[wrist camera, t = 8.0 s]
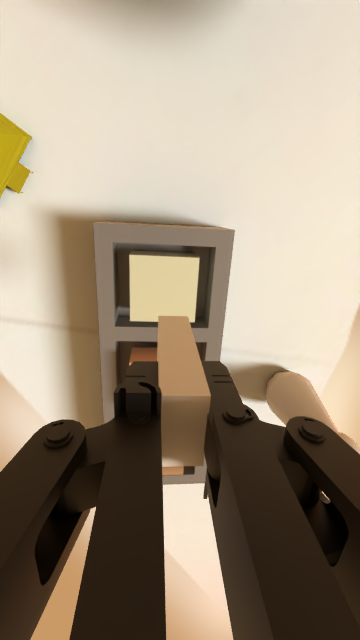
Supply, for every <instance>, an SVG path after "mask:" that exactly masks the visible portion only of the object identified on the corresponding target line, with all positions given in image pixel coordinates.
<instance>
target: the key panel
mask: <svg viewBox="0 0 360 640" xmlns="http://www.w3.org/2000/svg"><path fill="white" fill-rule="evenodd" d="M93 230H94V249H95V268H96V287H97V306H98V324H99V343H100V362H101V381H102V400H103V419H104V424H105V423H107V422H109V421H111V420H112V419H113V418H114V391H115V389H116V388H117V387H118V386H119V385H121V384H122V383H124V382H125V377H126V372H127V368H128V367H129V361H130V356H131V350H132V347H141V348H157V346H158V322H148V321H130V262H129V255H130V253H131V252H132V250H137V251H160V252H183V253H195V254H196V255H197V256H198V257H199V258H200V259H199V272H198V285H197V298H196V312H195V322H190V325H191V329H192V332H193V336H194V339H195V342H196V346H197V349H198V353H199V356H200V360H201V361H220V354H221V345H222V336H223V328H224V319H225V310H226V302H227V293H228V284H229V276H230V267H231V258H232V250H233V241H234V232H235V230H232V229H227V228H222V227H203V226H184V225H165V224H146V223H127V222H108V221H102V222H95V223H93ZM206 470H207V465H206V460H205V454H204V463H203V466H184V470H183V475H162V484H163V485H165V484H194V483H205V478H206Z"/></svg>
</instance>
